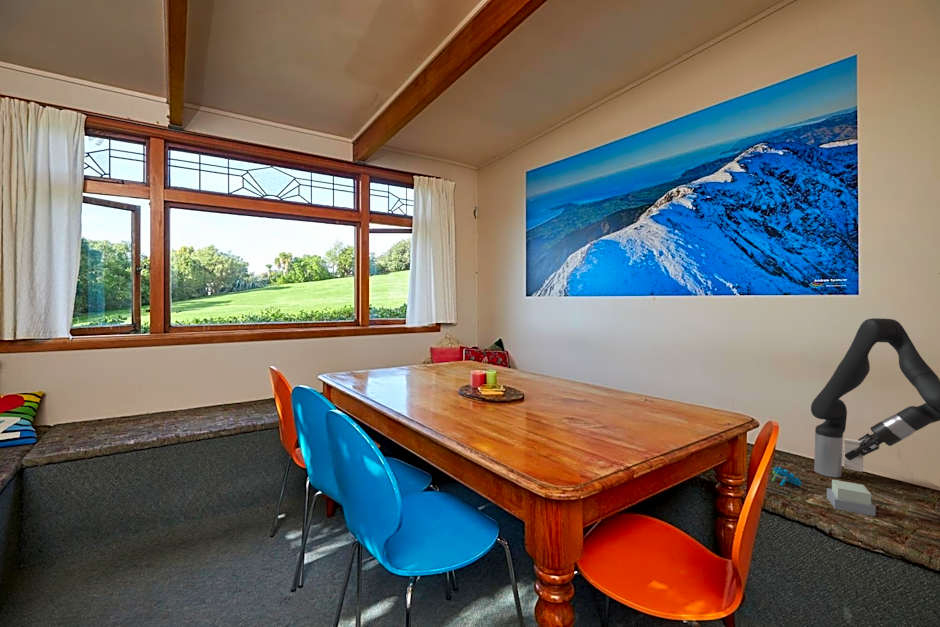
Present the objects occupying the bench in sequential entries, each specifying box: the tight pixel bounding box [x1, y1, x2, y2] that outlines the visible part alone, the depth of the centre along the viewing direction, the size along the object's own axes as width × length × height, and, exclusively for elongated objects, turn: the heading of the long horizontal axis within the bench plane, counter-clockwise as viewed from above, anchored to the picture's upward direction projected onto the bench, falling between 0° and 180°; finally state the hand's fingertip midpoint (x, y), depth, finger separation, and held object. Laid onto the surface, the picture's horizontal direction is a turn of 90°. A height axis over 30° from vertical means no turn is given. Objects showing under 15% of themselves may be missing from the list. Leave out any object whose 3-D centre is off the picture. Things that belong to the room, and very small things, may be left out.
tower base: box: [826, 487, 877, 517], centre depth 154 cm, size 11×11×4 cm
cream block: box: [842, 437, 864, 473], centre depth 154 cm, size 5×5×10 cm
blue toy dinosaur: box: [770, 466, 803, 487], centre depth 172 cm, size 11×6×10 cm
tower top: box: [831, 479, 872, 505], centre depth 154 cm, size 9×9×4 cm
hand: (846, 455), depth 155 cm, fingers closed on cream block, 5 cm apart
